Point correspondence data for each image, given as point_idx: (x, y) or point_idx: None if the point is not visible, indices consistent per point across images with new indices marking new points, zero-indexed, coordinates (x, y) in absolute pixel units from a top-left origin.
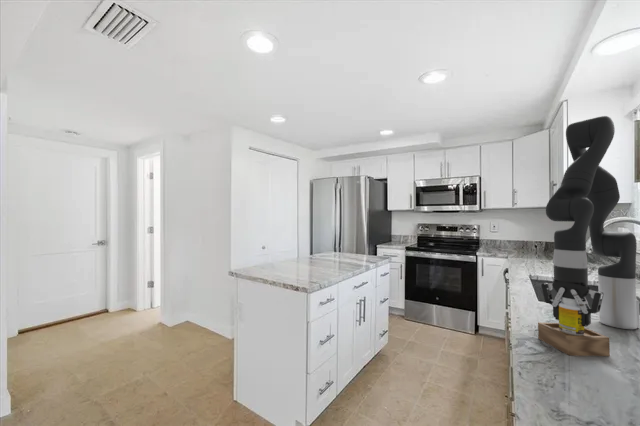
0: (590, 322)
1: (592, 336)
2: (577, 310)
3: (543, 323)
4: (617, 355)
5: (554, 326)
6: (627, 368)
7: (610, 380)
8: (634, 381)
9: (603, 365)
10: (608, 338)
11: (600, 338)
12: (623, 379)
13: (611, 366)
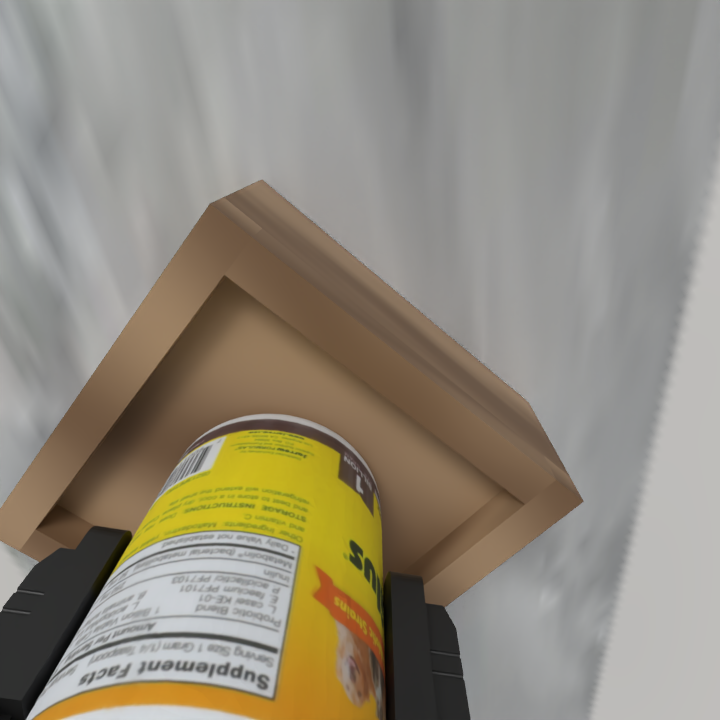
0: (453, 646)
1: (452, 577)
2: None
3: (30, 526)
4: (578, 339)
5: (109, 431)
6: (601, 534)
7: (511, 713)
8: (603, 661)
9: (488, 583)
10: (571, 501)
11: (508, 551)
12: (561, 672)
13: (525, 567)
